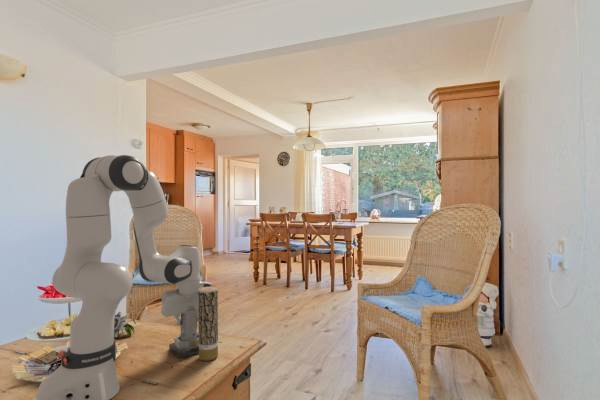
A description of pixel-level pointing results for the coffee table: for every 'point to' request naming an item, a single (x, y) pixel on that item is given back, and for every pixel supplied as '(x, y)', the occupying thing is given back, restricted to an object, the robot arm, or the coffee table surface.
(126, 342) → the coffee table surface
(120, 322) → the passion flower
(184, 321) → the energy drink can
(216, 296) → the bark patterned cylinder
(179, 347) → the can mount
